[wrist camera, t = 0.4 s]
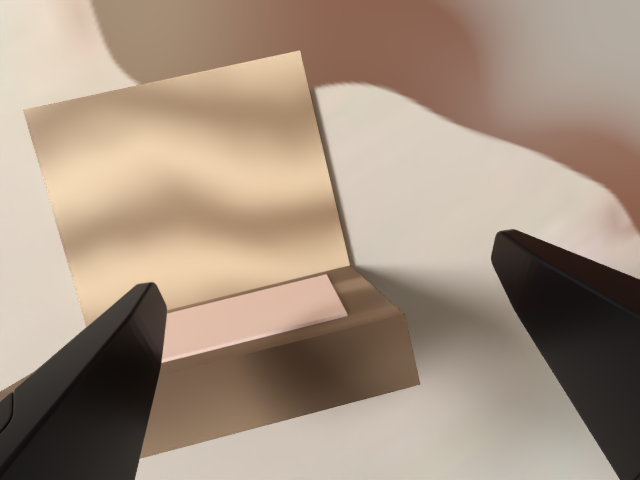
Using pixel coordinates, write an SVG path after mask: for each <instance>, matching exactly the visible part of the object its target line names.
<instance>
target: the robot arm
mask: <svg viewBox="0 0 640 480" xmlns="http://www.w3.org/2000/svg"><path fill="white" fill-rule="evenodd" d="M491 261H492V264H493V267H494V269H495V271H496V273H497V275H498V277H499V279H500V281H501V284H502V286H503V288H504V290H505V292H506V294H507V296H508V298H509V300H510V302H511V304H512V306H513V308H514V310H515V312H516V314H517V315H518V317H519V319H520V320H521V322H522V324H523V325H524V327H525V328H526V330H527V332H528V333H529V335H530V336H531V338H532V340H533V341H534V343H535V344H536V346H537V348H538V349H539V351H540V352H541V354H542V356H543V357H544V359H545V360H546V362H547V364H548V365H549V367H550V368H551V370H552V372H553V373H554V375H555V376H556V378H557V380H558V381H559V383H560V384H561V386H562V388H563V389H564V391H565V392H566V394H567V396H568V397H569V399H570V400H571V402H572V404H573V405H574V407H575V408H576V410H577V412H578V413H579V415H580V416H581V418H582V420H583V421H584V423H585V424H586V426H587V428H588V429H589V431H590V432H591V434H592V436H593V437H594V439H595V440H596V442H597V444H598V445H599V447H600V448H601V450H602V452H603V453H604V455H605V456H606V458H607V460H608V461H609V463H610V464H611V466H612V468H613V469H614V471H615V472H616V474H617V476H618V477H619V479H620V480H640V279H637V278H635V277H632V276H630V275H627V274H625V273H622V272H620V271H617V270H615V269H612V268H610V267H607V266H605V265H602V264H600V263H597V262H595V261H592V260H590V259H587V258H585V257H582V256H580V255H577V254H575V253H572V252H570V251H567V250H565V249H562V248H560V247H557V246H555V245H552V244H550V243H547V242H545V241H542V240H540V239H537V238H535V237H533V236H530V235H528V234H525V233H523V232H520V231H518V230H515V229H510V230H503V231H499V232H498V233H497V234H496V237H495V241H494V245H493V250H492V254H491ZM166 319H167V306H166V303H165V301H164V299H163V297H162V295H161V293H160V291H159V289H158V287H157V285H156V284H155V283H154V282H147V283H140V284H137V285H135V286H134V287H133V288H132V289H131V290H129V291H128V292H127V293H126V294H125V295H124V296H122V297H121V298H120V299H119V300H118V301H117V302H115V303H114V304H113V305H112V306H111V307H110V308H108V309H107V310H106V311H105V312H104V313H103V314H101V315H100V316H99V317H98V318H97V319H96V320H94V321H93V322H92V323H91V324H90V325H89V326H87V327H86V328H85V329H84V330H83V331H82V332H80V333H79V334H78V335H77V336H76V337H75V338H73V339H72V340H71V341H70V342H69V343H68V344H66V345H65V346H64V347H63V348H62V349H61V350H59V351H58V352H57V353H56V354H55V355H54V356H52V357H51V358H50V359H49V360H48V361H46V362H45V363H44V364H43V365H42V366H41V367H39V368H38V369H37V370H36V371H35V372H34V373H32V374H31V375H30V376H29V377H28V378H27V379H25V380H24V381H23V382H22V383H21V384H20V385H18V386H17V387H16V388H15V389H14V391H13V392H11V393H9V394H8V395H7V396H6V397H4V398H3V399H2V400H1V401H0V480H135V476H136V472H137V468H138V463H139V459H140V455H141V451H142V446H143V442H144V438H145V433H146V429H147V425H148V421H149V416H150V412H151V408H152V404H153V399H154V395H155V391H156V387H157V382H158V378H159V374H160V369H161V363H162V355H163V346H164V337H165V328H166Z"/></svg>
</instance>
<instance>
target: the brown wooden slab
mask: <svg viewBox="0 0 640 480" xmlns="http://www.w3.org/2000/svg"><path fill="white" fill-rule="evenodd" d="M33 373H34V372H33ZM31 374H32V373H31ZM31 374H30V375H31ZM30 375H28V376H26V377H25V378H23V379H21V380H20V381H18V382H16V383H14V384H13V385H11V386H9V387H8V388H6V389H4V390H2V391H1V392H0V401H1V400H2V399H3V398H4V397H6V396H7V395H8V394H9V393H11V392H13V391H14V389H15V388H16V387H17V386H18V385H20V384H21V383H22V382H23V381H24V380H25V379H27V378H28V377H29V376H30ZM416 385H420V381H419V377H418V372H417V368H416V363H415V359H414V354H413V350H412V345H411V341H410V336H409V332H408V327H407V323H406V318H405V314H404V313H403V312H402V311H401V310H400V309H398V308H397V307H396V306H395V305H394V304H393V303H392V302H391V301H389V300H388V299H387V298H386V297H385V296H384V295H383V294H382V293H381V292H379V291H378V290H377V289H376V288H375V287H374V286H373V285H372V284H370V283H369V282H368V281H367V280H366V279H365V278H364V277H363V276H361V275H360V274H359V273H358V272H357V271H356V270H355V269H354V268H352V267H351V266H350V265H349V266H345V267H341V268H337V269H333V270H329V271H325V272H320V273H316V274H312V275H308V276H304V277H300V278H296V279H292V280H288V281H284V282H280V283H276V284H272V285H268V286H264V287H259V288H255V289H251V290H247V291H243V292H239V293H235V294H231V295H227V296H223V297H219V298H215V299H211V300H207V301H202V302H198V303H194V304H190V305H186V306H182V307H178V308H174V309H170V310H167V319H166V328H165V337H164V346H163V355H162V363H161V369H160V374H159V378H158V382H157V387H156V391H155V395H154V399H153V404H152V408H151V412H150V416H149V421H148V425H147V429H146V433H145V438H144V442H143V446H142V451H141V455H140V458H144V457H148V456H152V455H155V454H159V453H163V452H167V451H170V450H174V449H178V448H182V447H186V446H189V445H193V444H197V443H201V442H204V441H208V440H212V439H216V438H220V437H223V436H227V435H231V434H235V433H239V432H242V431H246V430H250V429H254V428H257V427H261V426H265V425H269V424H273V423H276V422H280V421H284V420H288V419H291V418H295V417H299V416H303V415H307V414H310V413H314V412H318V411H322V410H325V409H329V408H333V407H337V406H341V405H344V404H348V403H352V402H356V401H359V400H363V399H367V398H371V397H375V396H378V395H382V394H386V393H390V392H394V391H397V390H401V389H405V388H409V387H412V386H416Z"/></svg>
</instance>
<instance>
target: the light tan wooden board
mask: <svg viewBox="0 0 640 480" xmlns="http://www.w3.org/2000/svg"><path fill="white" fill-rule="evenodd" d="M23 111H24V115H25V118H26V121H27V125H28V128H29V132H30V135H31V139H32V142H33V145H34V149H35V152H36V156H37V159H38V163H39V166H40V169H41V173H42V176H43V180H44V183H45V186H46V190H47V193H48V197H49V200H50V204H51V207H52V210H53V214H54V217H55V221H56V224H57V228H58V231H59V234H60V238H61V241H62V245H63V248H64V252H65V255H66V258H67V262H68V265H69V269H70V272H71V276H72V279H73V282H74V286H75V289H76V293H77V296H78V300H79V303H80V306H81V310H82V313H83V317H84V320H85V324H86V327H87V326H89V325H90V324H91V323H92V322H93V321H94V320H96V319H97V318H98V317H99V316H100V315H101V314H103V313H104V312H105V311H106V310H107V309H108V308H110V307H111V306H112V305H113V304H114V303H115V302H117V301H118V300H119V299H120V298H121V297H122V296H124V295H125V294H126V293H127V292H128V291H129V290H131V289H132V288H133V287H134V286H135V285H137V284H140V283H147V282H154V283H155V284H156V285H157V287H158V289H159V291H160V293H161V295H162V297H163V299H164V301H165V303H166V306H167V310H170V309H174V308H178V307H182V306H186V305H190V304H194V303H198V302H202V301H207V300H211V299H215V298H219V297H223V296H227V295H231V294H235V293H239V292H243V291H247V290H251V289H255V288H259V287H264V286H268V285H272V284H276V283H280V282H284V281H288V280H292V279H296V278H300V277H304V276H308V275H312V274H316V273H320V272H325V271H329V270H333V269H337V268H341V267H345V266H349V265H350V263H349V259H348V255H347V250H346V246H345V242H344V237H343V233H342V229H341V225H340V220H339V216H338V212H337V207H336V203H335V199H334V195H333V190H332V186H331V182H330V177H329V173H328V169H327V164H326V160H325V156H324V152H323V147H322V143H321V139H320V134H319V130H318V126H317V121H316V117H315V113H314V109H313V104H312V100H311V96H310V91H309V87H308V83H307V78H306V74H305V70H304V66H303V61H302V57H301V53H300V51H295V52H291V53H286V54H281V55H277V56H272V57H268V58H263V59H258V60H254V61H249V62H245V63H240V64H235V65H230V66H226V67H221V68H217V69H212V70H208V71H203V72H198V73H194V74H189V75H184V76H179V77H175V78H170V79H165V80H161V81H156V82H151V83H147V84H142V85H137V86H133V87H128V88H124V89H119V90H114V91H110V92H105V93H100V94H96V95H91V96H86V97H82V98H77V99H72V100H68V101H63V102H59V103H54V104H49V105H45V106H40V107H35V108H31V109H26V110H23Z"/></svg>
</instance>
